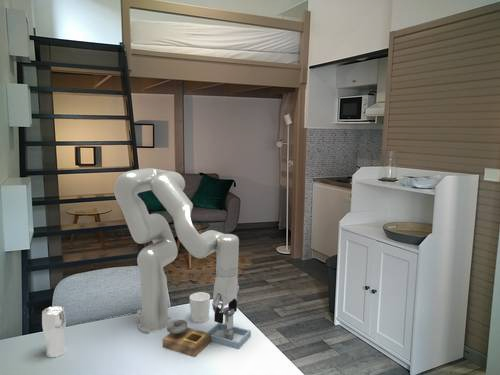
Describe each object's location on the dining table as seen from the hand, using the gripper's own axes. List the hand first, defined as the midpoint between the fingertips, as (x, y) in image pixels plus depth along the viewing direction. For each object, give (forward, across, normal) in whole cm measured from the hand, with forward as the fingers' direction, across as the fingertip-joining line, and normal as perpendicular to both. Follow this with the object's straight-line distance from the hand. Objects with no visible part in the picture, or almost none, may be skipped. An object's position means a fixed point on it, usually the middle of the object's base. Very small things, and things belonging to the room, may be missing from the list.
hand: (225, 316), depth 137 cm
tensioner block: (+9, +10, -10) cm, 17 cm away
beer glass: (+11, +32, -47) cm, 58 cm away
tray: (+9, 0, +1) cm, 9 cm away
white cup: (+10, -8, -16) cm, 20 cm away
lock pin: (+8, 0, +2) cm, 8 cm away
